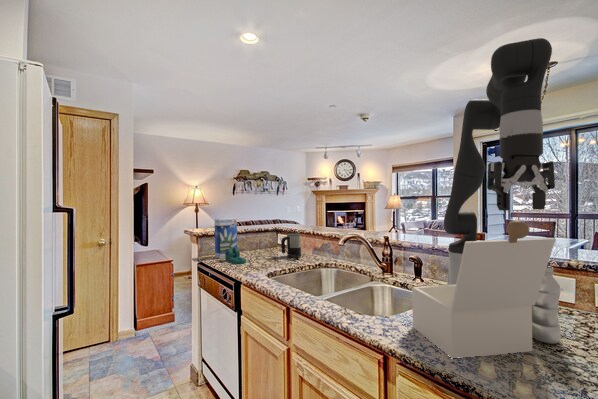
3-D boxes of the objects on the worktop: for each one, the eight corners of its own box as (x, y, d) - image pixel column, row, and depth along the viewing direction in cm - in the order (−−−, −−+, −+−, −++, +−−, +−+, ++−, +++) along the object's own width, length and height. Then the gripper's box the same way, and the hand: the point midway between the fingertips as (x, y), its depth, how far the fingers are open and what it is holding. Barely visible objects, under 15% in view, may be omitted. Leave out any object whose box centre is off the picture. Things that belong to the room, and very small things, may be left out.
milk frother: (296, 254, 205) (295, 232, 205) (310, 257, 192) (310, 235, 192) (279, 257, 196) (278, 234, 196) (293, 261, 184) (293, 237, 183)
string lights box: (219, 259, 193) (218, 219, 193) (214, 257, 199) (213, 219, 199) (237, 256, 202) (237, 218, 201) (232, 254, 207) (231, 217, 207)
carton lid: (467, 218, 65) (480, 225, 61) (555, 216, 68) (573, 222, 64) (448, 307, 72) (459, 318, 68) (529, 301, 75) (544, 311, 71)
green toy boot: (225, 260, 190) (225, 248, 190) (235, 258, 194) (234, 246, 194) (238, 265, 175) (237, 251, 175) (248, 263, 180) (248, 250, 179)
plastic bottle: (545, 334, 83) (544, 263, 82) (568, 347, 76) (567, 269, 76) (523, 335, 82) (522, 263, 82) (543, 347, 76) (543, 269, 75)
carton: (412, 327, 89) (412, 287, 89) (478, 321, 92) (478, 283, 92) (451, 359, 71) (451, 309, 71) (532, 351, 74) (531, 303, 74)
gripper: (533, 138, 69) (533, 208, 69) (477, 138, 67) (478, 210, 67) (566, 131, 61) (567, 209, 62) (505, 130, 59) (506, 211, 59)
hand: (521, 209), depth 64 cm, fingers open, 8 cm apart
